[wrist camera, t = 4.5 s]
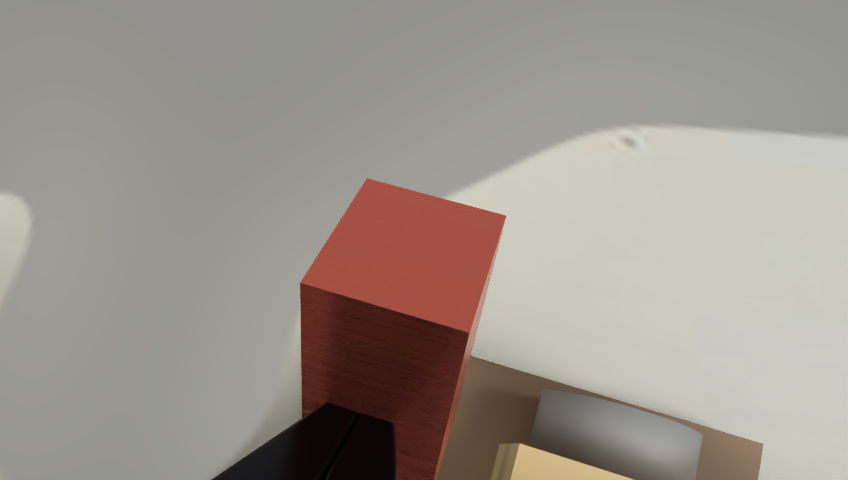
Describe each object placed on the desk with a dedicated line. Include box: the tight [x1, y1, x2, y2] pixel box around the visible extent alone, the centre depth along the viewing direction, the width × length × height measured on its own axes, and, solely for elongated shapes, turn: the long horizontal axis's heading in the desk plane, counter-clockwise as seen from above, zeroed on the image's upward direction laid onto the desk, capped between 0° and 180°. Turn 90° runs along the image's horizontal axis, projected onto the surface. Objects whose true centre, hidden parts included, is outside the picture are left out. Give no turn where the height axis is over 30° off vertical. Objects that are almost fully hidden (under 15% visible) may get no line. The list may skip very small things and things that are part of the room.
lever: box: [300, 179, 506, 480], centre depth 10 cm, size 2×2×10 cm
